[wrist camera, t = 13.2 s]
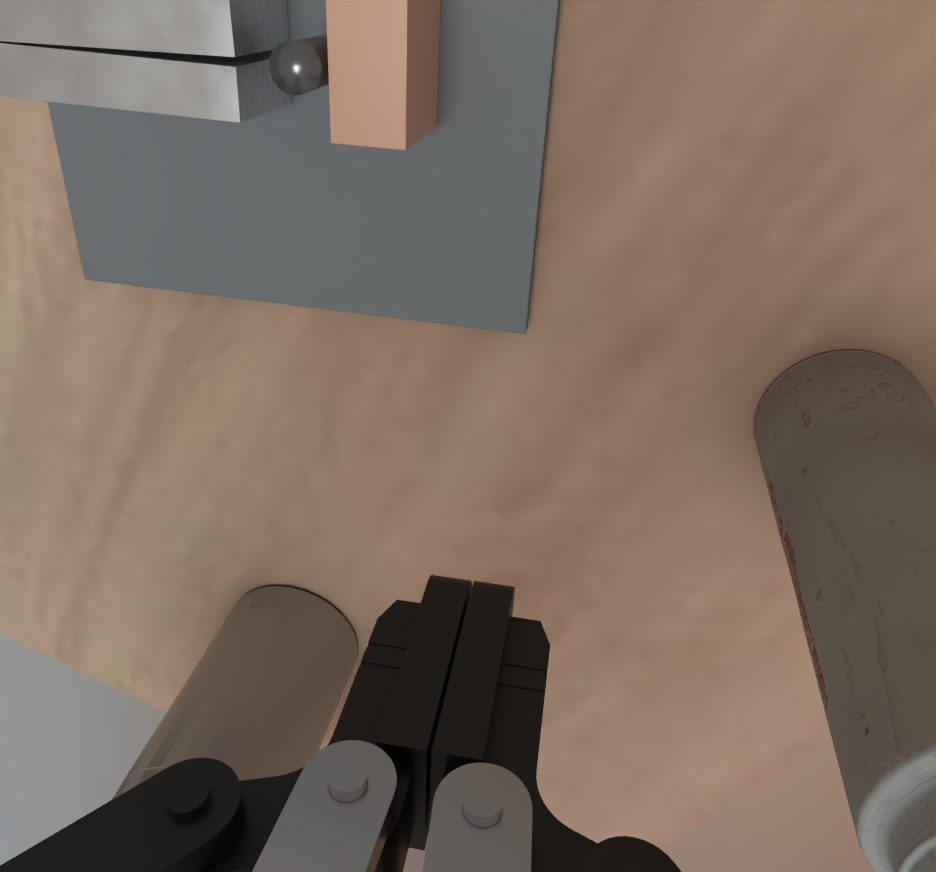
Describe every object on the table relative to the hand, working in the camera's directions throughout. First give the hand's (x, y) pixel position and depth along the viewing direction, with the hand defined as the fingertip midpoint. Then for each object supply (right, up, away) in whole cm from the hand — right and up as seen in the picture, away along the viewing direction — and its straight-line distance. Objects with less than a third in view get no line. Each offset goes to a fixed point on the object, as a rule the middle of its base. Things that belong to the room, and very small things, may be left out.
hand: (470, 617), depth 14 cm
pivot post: (-5, +20, +21) cm, 30 cm away
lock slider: (-3, +19, +20) cm, 28 cm away
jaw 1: (-14, +22, +21) cm, 33 cm away
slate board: (-8, +19, +22) cm, 30 cm away
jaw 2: (-14, +20, +22) cm, 33 cm away
